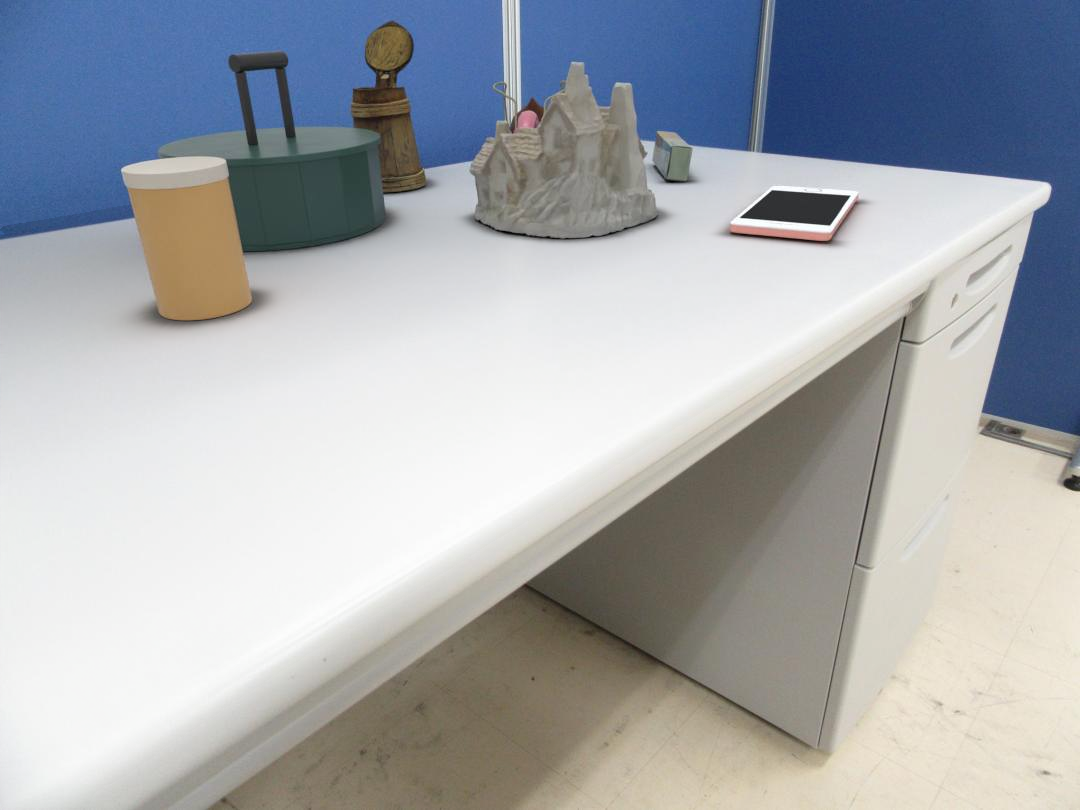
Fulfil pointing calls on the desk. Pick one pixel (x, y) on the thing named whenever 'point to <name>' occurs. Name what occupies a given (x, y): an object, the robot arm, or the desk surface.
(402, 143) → the wooden mug
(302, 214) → the pot
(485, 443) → the desk surface
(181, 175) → the tan canister with cap
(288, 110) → the lid
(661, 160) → the medication box
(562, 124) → the ceramic cottage
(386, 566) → the desk surface
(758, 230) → the cell phone
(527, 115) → the anatomy model
